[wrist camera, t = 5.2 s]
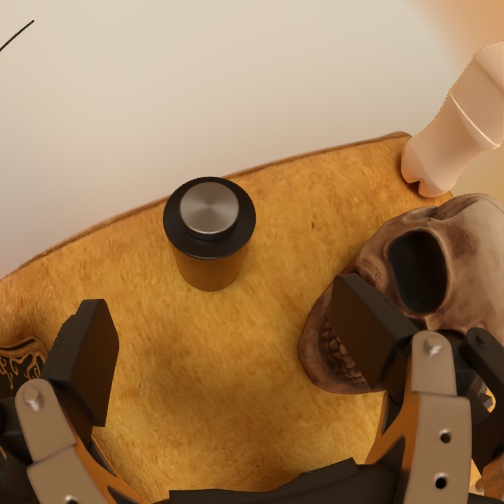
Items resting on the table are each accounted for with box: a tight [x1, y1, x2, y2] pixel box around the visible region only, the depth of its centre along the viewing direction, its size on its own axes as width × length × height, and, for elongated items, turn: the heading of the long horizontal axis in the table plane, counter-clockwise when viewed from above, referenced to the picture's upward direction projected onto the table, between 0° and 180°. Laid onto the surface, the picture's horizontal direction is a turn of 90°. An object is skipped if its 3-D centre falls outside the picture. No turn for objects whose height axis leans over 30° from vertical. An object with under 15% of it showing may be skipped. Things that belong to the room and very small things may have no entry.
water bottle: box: [401, 41, 504, 197], centre depth 15 cm, size 7×7×25 cm
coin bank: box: [298, 193, 504, 394], centre depth 15 cm, size 16×17×13 cm
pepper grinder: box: [163, 177, 256, 291], centre depth 16 cm, size 5×5×8 cm
